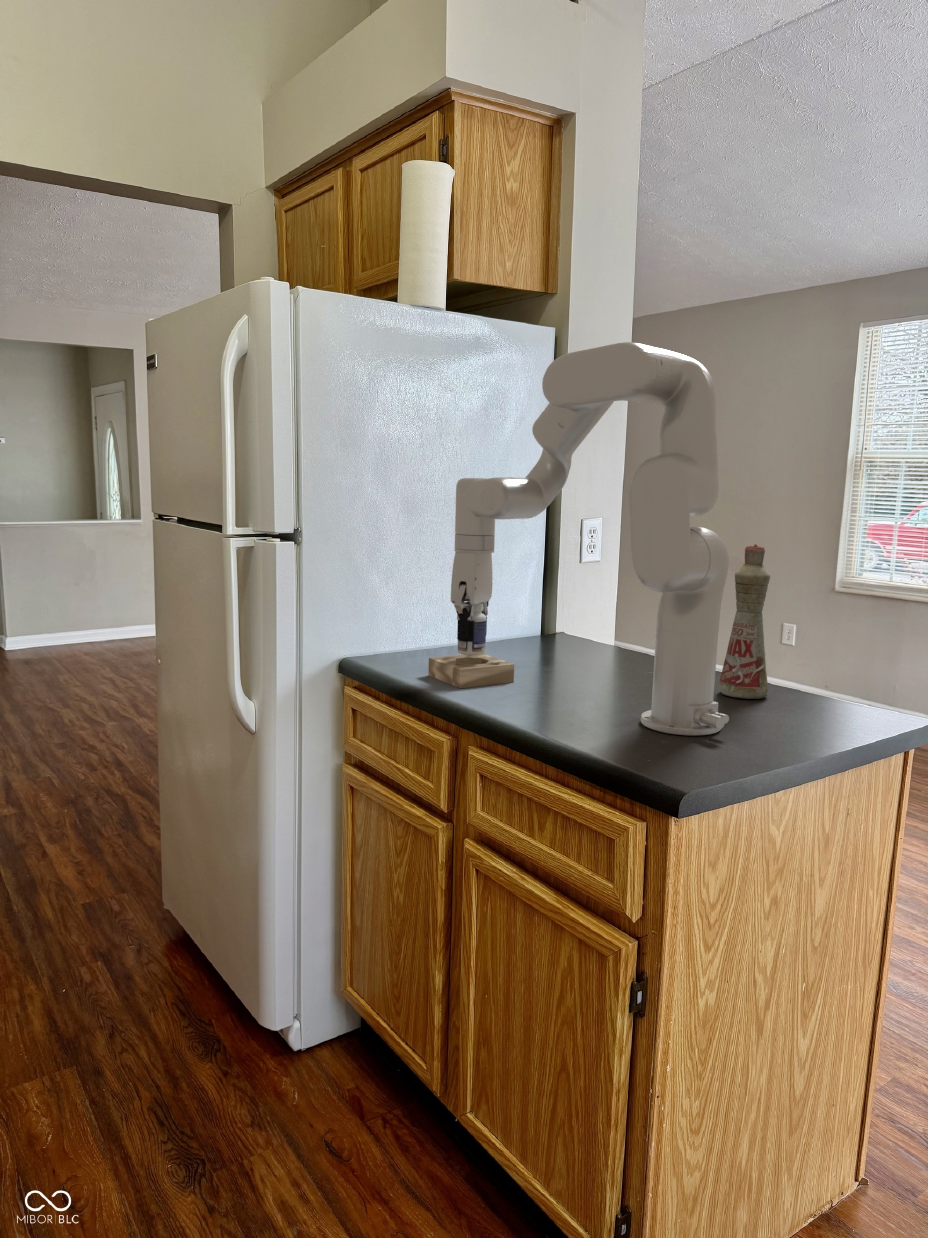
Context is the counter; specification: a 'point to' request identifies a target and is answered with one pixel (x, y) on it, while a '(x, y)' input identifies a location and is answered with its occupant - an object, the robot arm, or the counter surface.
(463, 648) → the pill bottle
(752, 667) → the bottle
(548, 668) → the counter surface
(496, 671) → the collar
